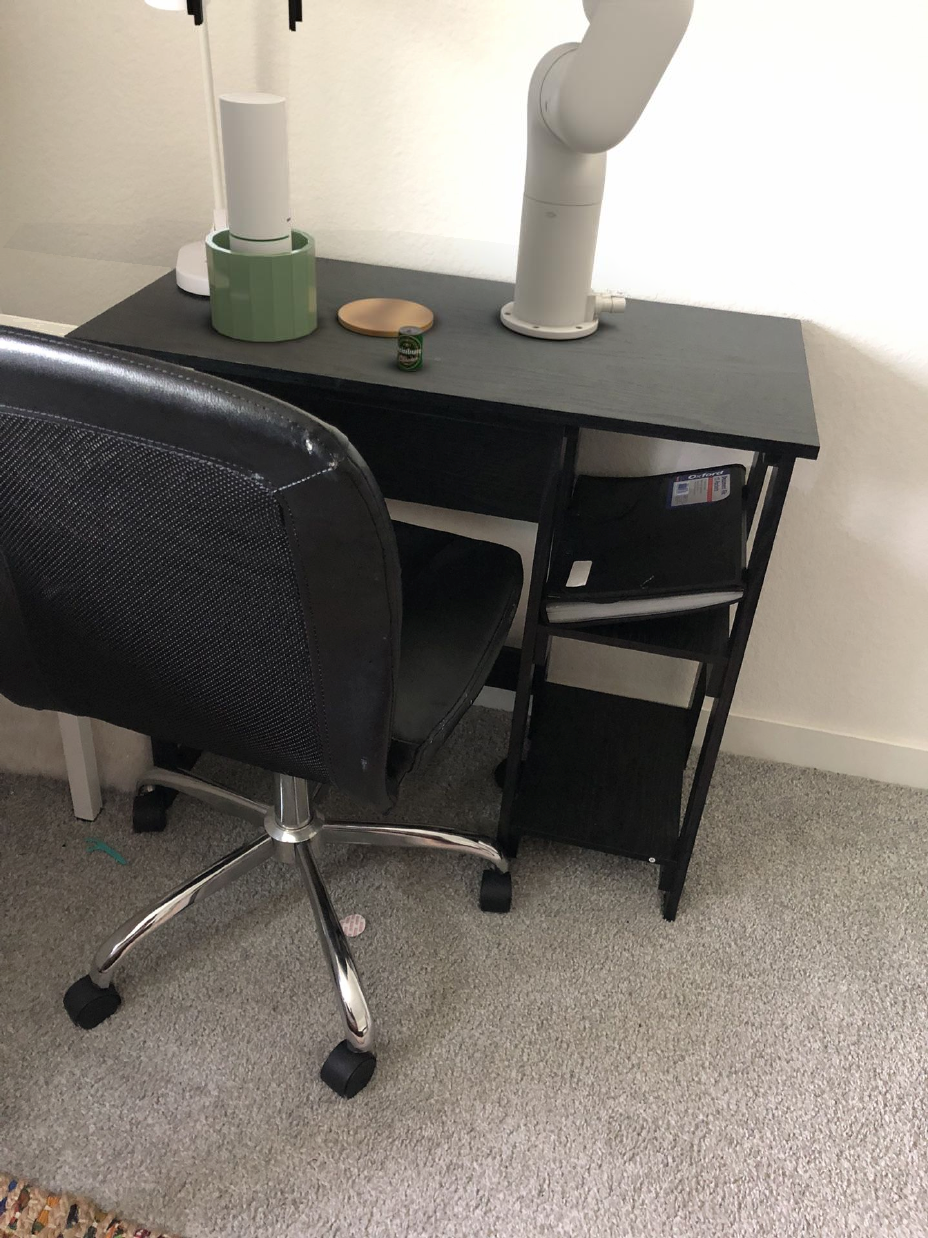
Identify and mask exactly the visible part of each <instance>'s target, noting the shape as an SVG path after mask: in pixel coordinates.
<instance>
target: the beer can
mask: <svg viewBox="0 0 928 1238" xmlns="http://www.w3.org/2000/svg"><path fill="white" fill-rule="evenodd" d="M423 333H424V332H423V331H422V329H421V328H419V327H415V326H404V327H401V328H400V329H399V333H398V337H397V353H396V355H397V357H396V358H397V359H396V360H397V361H396V363H397V365H396V366H397V367H398V368H399V369H400V370H403V371H405V372H415V371H419V370H420V369H421V368H422V367H423V350H424V348H423V347H424V334H423Z"/></svg>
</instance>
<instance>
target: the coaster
mask: <svg viewBox="0 0 928 1238" xmlns="http://www.w3.org/2000/svg"><path fill="white" fill-rule="evenodd" d="M337 315H338V316H337V317H338V322H339V324H340V325H341V326H342V327H344V328H345V329H347V330H349V331H351V332H354V333H357V334H361V335H364V336H370V337H376V338H377V337H379V338H398V333H399V329H400V328H401V327H404V326H415V327H419V328H421V329H422V331H423V332H422V333H425V332H427V331H428V330H430V329H431V328H432V326H433V325H434V320H435V315H434V314H433V312H432V311H431V310H430V309H429V308H427V307H426V306H424V305H422V304H419V303H416V302H413V301H409V300H403V299H397V298H385V297H383V298H381V297H380V298H379V297H377V298H375V297H374V298H365V299H359V300H354V301H351V302H349V303H346V304H343V306H342V307H340V309H339V310H338V314H337Z"/></svg>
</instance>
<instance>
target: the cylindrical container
mask: <svg viewBox="0 0 928 1238" xmlns="http://www.w3.org/2000/svg"><path fill="white" fill-rule="evenodd" d="M218 100H219V115H220V126H221V142H222V154H223V168H224V181H225V195H226V209H227V223H228V227H229V237H230V251H234V252H241V253H248V254H277V253H286V252H291V251H292V242H291V228H292V221H291V220H292V219H291V199H290V198H291V194H290V193H291V192H290V169H289V145H288V144H289V143H288V119H287V118H288V117H287V115H288V114H287V99H286V97H284V96H282V95H279V94H274V93H268V92H267V93H266V92H258V91H257V92H254V91H237V92H235V91H234V92H227V93H222V94H220V95H219V96H218Z"/></svg>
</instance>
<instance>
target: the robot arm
mask: <svg viewBox="0 0 928 1238" xmlns="http://www.w3.org/2000/svg"><path fill="white" fill-rule="evenodd" d="M581 1H582V8H583V12H584V16H585V18H586V19H587V21H588V23H589V24H588V26H587V28H586V31H585V33H584V35H583V37H582V39H581V41H580V42H579V41H569V42H564V43H561V44H559V45H556V46H554V47H552V48H551V49H550V50H548V51H547V52H546V53H545V54H544V55H543V56H542V57H541V59H539V61H538V62H537V64H536V65H535V67H534V70H533V72H532V74H531V76H530V81H529V85H528V89H527V90H528V91H527V101H526V121H527V122H526V134H527V135H526V138H527V139H526V160H525V162H526V163H525V172H524V184H523V185H524V186H523V193H522V206H521V215H520V228H519V239H518V250H517V262H516V273H515V283H514V295H513V301H510V302H507V303H506V304H505V305H504V306H502V308H501V309H500V316H499V318H500V321H501V323H502V324H503V325H504V326H505V327H506V328H508V329H509V330H511V331H514V332H516V333H518V334H522V335H525V336H528V337H533V338H537V339H546V340H572V339H573V340H574V339H580V338H584V337H587V336H590V335H591V334H593V333H595V331H596V330H597V329H598V327H599V317H598V316H600V315H601V314H602V313H609V314H624V313H625V311H626V306H627V302H626V298H625V297H618V296H617V297H615V296H614V297H613V296H612V294H611V293H610V292H600V293H595V291H594V290H593V288H592V280H593V279H592V278H593V274H594V273H593V272H594V265H595V257H596V250H597V241H598V236H599V234H598V233H599V226H600V220H601V213H602V204H603V199H604V192H605V184H606V174H607V162H608V161H607V157H608V151H610V150H612V149H614V148H616V147H617V146H618V145H620V144H621V143H622V142H623V141H624V140H625V139H626V138H627V137H628V135H630V134H631V132H632V130H633V129H634V127H635V126H636V124H637V123H638V121H639V120H640V118H641V116H642V114H643V112H644V111H645V109H646V108H647V106H648V103H649V102H650V100H651V99H652V96H653V95H654V93H655V91H656V89H657V87H658V86H659V84H660V82H661V80H662V78H663V77H664V74H665V73H666V71H667V69H668V67H669V65H670V64H671V61H672V59H673V57H674V55H675V54H676V53H677V50H678V48H679V47H680V44H681V42H682V41H683V39H684V37H685V34H686V32H687V30H688V27H689V24H690V22H691V19H692V15H693V10H694V7H695V0H581ZM185 2H186V12H187V13H186V14H187V16H193V23H194V26H196V27H197V26H198V27H199V26H201V25H203V23H204V9H203V7H204V6H203V0H185ZM287 4H288V6H287V7H288V30H289V31H291V32H297V23H303V0H287Z"/></svg>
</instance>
